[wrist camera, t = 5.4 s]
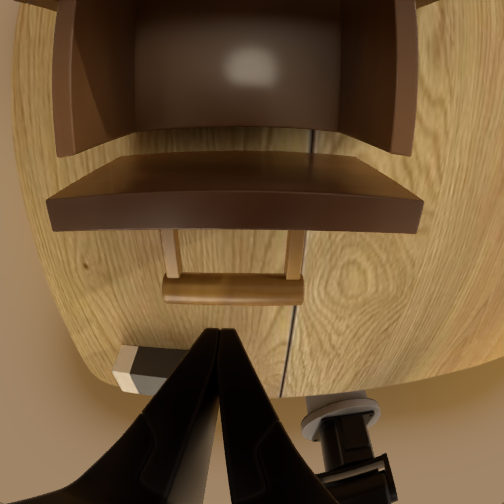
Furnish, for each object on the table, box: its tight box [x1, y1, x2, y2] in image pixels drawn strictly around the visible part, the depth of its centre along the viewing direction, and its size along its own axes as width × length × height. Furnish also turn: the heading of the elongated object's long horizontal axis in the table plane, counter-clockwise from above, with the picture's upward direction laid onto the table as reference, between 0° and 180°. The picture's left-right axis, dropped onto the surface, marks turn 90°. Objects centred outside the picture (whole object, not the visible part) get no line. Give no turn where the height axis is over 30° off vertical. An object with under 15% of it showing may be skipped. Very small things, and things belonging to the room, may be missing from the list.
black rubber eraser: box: [112, 345, 189, 396], centre depth 21 cm, size 3×8×3 cm, turn 89°
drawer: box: [46, 0, 424, 306], centre depth 9 cm, size 18×12×7 cm
